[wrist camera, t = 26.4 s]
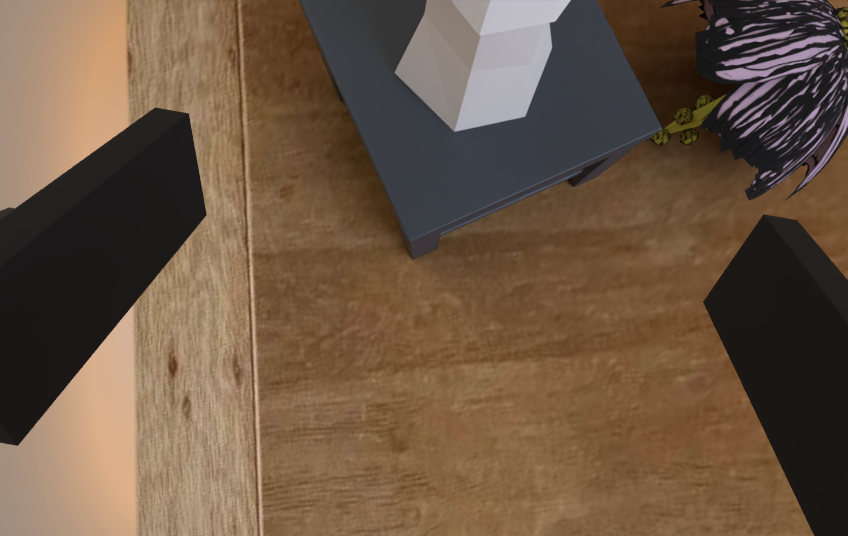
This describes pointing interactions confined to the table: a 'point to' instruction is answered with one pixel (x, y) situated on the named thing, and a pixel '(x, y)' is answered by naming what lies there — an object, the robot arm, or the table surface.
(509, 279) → the table surface
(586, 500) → the table surface
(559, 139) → the stand
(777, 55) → the decorative flower
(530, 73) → the figurine
